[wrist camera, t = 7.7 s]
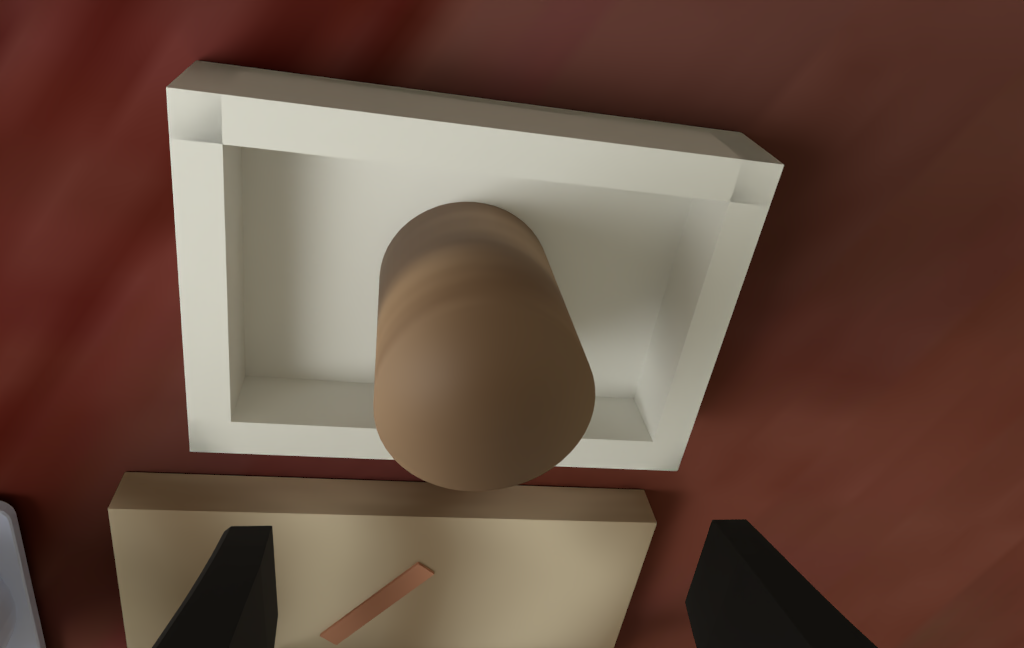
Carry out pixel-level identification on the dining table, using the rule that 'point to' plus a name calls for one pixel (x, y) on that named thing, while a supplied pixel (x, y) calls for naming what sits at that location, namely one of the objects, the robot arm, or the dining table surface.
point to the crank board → (391, 558)
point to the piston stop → (476, 352)
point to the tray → (413, 190)
